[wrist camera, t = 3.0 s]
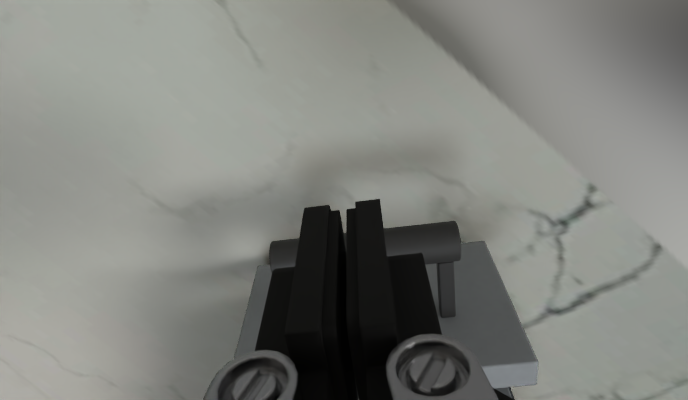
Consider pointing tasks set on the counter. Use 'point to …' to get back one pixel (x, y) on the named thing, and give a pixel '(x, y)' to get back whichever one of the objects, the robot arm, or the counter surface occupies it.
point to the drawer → (437, 299)
